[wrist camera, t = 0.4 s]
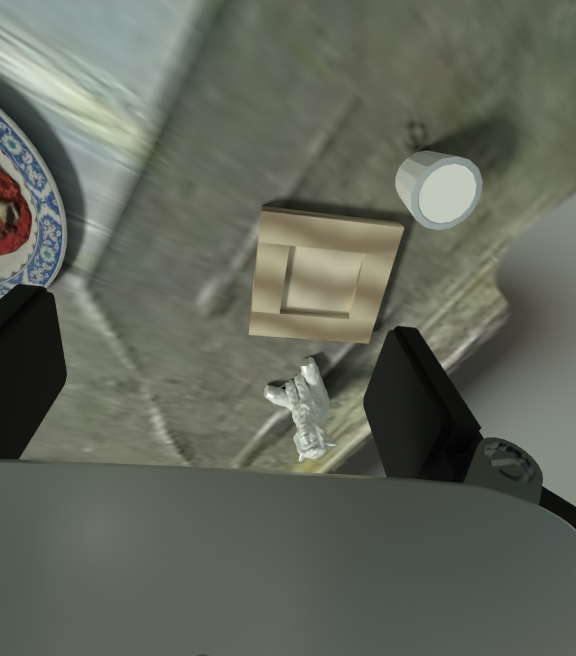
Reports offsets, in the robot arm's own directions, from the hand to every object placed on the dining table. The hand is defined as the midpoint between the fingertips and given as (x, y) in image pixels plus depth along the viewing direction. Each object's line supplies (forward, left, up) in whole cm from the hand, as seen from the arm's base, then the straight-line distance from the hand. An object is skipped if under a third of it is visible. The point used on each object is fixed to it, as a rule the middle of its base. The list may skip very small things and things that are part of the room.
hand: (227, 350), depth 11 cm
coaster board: (+14, +10, -34) cm, 38 cm away
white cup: (+1, +19, -35) cm, 40 cm away
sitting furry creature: (+32, +11, -35) cm, 48 cm away
